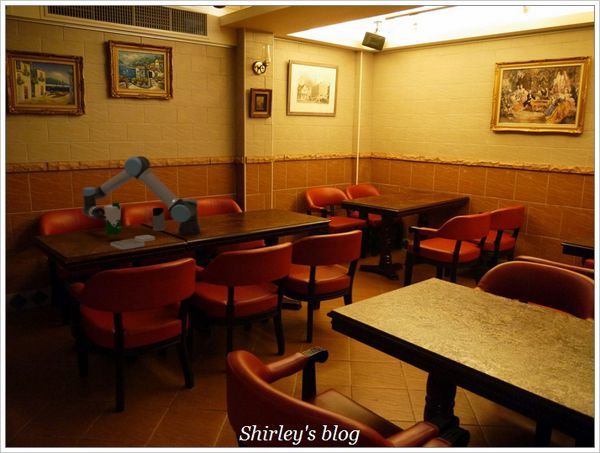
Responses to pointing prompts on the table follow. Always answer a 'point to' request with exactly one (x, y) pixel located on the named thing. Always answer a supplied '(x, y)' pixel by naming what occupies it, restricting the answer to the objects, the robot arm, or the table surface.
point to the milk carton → (113, 219)
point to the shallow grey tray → (127, 244)
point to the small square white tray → (144, 238)
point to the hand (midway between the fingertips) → (113, 217)
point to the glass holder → (158, 219)
